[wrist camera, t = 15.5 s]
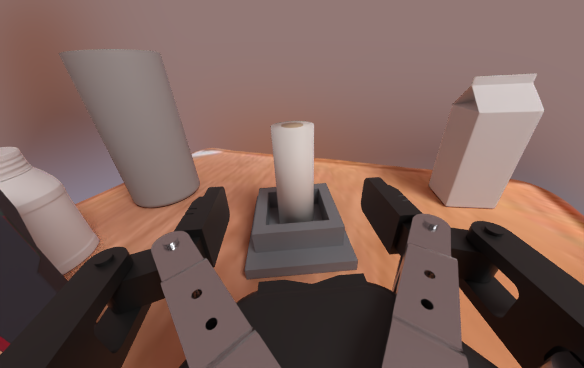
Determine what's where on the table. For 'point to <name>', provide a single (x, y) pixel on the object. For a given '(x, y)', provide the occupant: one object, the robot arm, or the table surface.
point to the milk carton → (485, 140)
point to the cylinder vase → (136, 121)
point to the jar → (46, 211)
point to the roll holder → (298, 239)
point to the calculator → (22, 275)
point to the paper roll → (294, 170)
